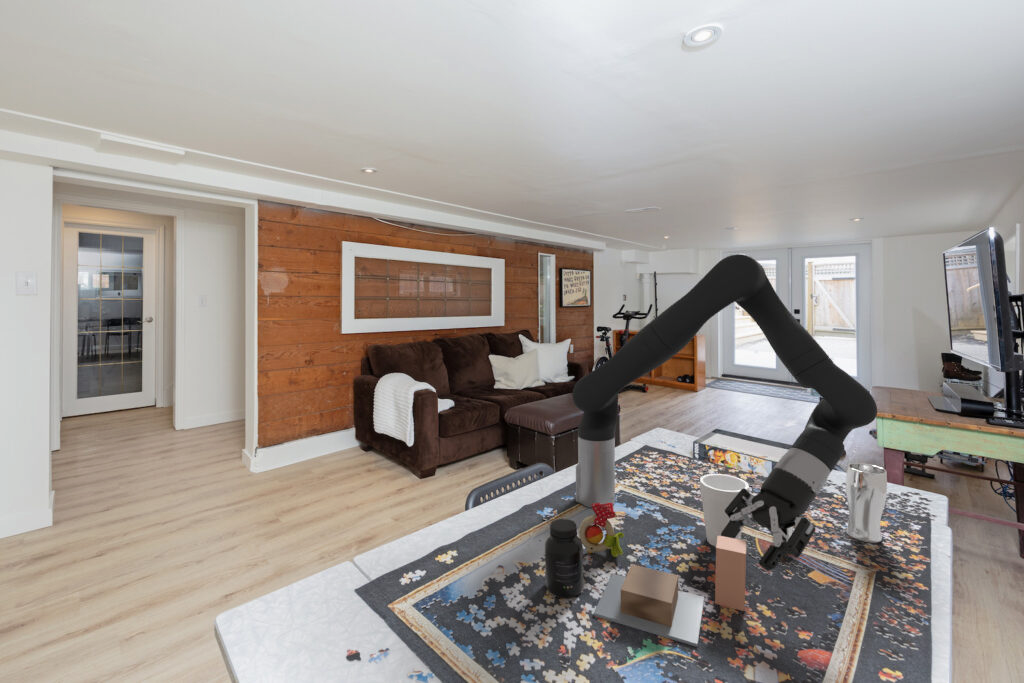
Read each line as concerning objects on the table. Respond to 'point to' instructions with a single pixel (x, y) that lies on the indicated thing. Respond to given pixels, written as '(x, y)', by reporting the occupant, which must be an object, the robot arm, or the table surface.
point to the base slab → (650, 595)
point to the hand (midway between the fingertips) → (743, 554)
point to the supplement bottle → (564, 559)
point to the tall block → (730, 572)
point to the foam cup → (718, 502)
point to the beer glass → (865, 500)
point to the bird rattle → (600, 530)
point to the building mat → (682, 625)
